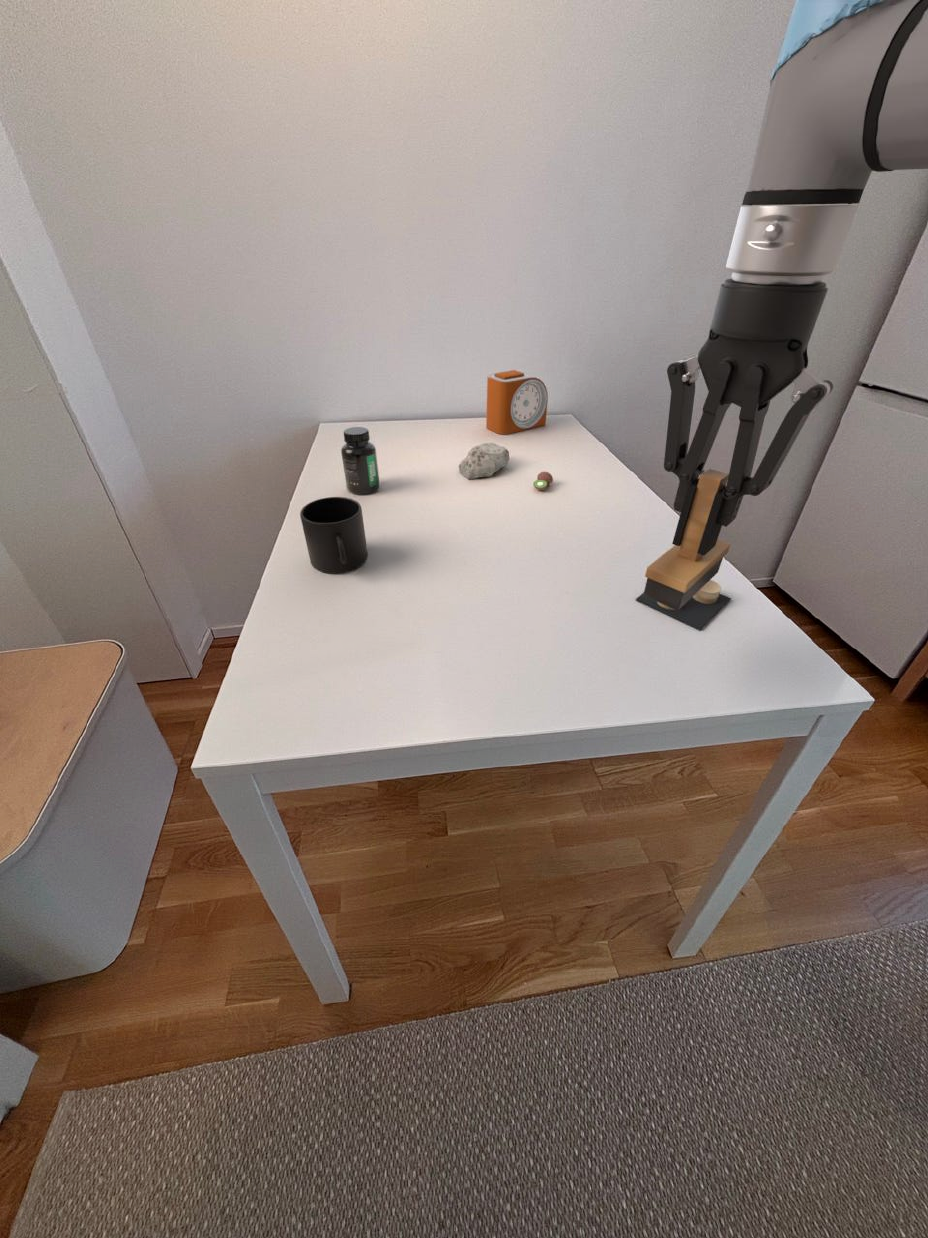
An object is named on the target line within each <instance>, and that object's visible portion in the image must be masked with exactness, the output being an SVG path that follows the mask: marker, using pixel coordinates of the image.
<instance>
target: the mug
mask: <svg viewBox="0 0 928 1238" xmlns="http://www.w3.org/2000/svg"><path fill="white" fill-rule="evenodd" d="M299 515H300V521H301V525H302V530H303V534H304V535H303V536H304V538H305V539H304V540H305V543H306V548H307V552H308V557H309V561H310V564H311V566H312V567H313V569H315V570H317V571H318V572H321V573H325V574H344V573H349V572H352V571H354V570H356V569H359V568H361V566H363V565H364V564H365V563H366V561H367V559H368V556H369V554H368V553H369V552H368V545H367V537H366V531H365V523H364V516H363V509H362V505H361V504H360V502H359V501H357V500H355V499H354V498H351V497H345V496H329V497H323V498H319V499H315V500H313V501H310V502H309V503H307V504H305V505H304V506H303V507H302V508H301V510H300V512H299Z"/></svg>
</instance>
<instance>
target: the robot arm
mask: <svg viewBox="0 0 928 1238" xmlns="http://www.w3.org/2000/svg"><path fill="white" fill-rule="evenodd" d="M790 16H791V17H790V19H789V22H788V26H787V29H786V33H785V36H784V39H783V43H782V46H781V49H780V53H779V56H778V59H777V63H776V64H775V66H774V67H773V70H772V73H771V75H770V80H769V83H770V84H769V91H768V95H767V100H766V104H765V109H764V114H763V117H762V123H761V126H760V131H759V136H758V141H757V145H756V149H755V153H754V158H753V163H752V167H751V171H750V175H749V179H748V184H747V188H746V191H745V194H744V195H743V199H742V203H741V205H742V206H740V209H739V213H738V217H737V221H736V224H735V228H734V233H733V236H732V242H731V244H730V248H729V253H728V256H727V259H726V260H727V261H726V264H725V268H726V270H727V271H728V272H730V273H731V278H727V279H725V280H724V282H723V283H721V284H720V287H719V290H718V295H717V299H716V302H715V306H714V310H713V314H712V318H711V322H710V325H709V333H708V337H707V338H706V341H705V342H704V344H703V345H702V346H701V347H700V349H699V351H698V353H697V355H694V356H692V357H690V358H683V359H681V360H677V361H675V362H672V363H670V364H669V365H668V367H667V368H666V374H667V378H668V383H669V387H670V388H669V389H670V401H669V410H668V411H669V412H668V420H667V431H666V438H665V439H666V440H665V449H664V450H665V451H664V460H663V468H664V470H665V471H666V472H667V473H673V474H674V475H675V476H676V477H677V478H678V480H679V481H678V487H677V491H676V494H675V498H674V501H673V511H676V512H679V513H680V514H679V517H678V521H677V525H676V528H675V531H674V536H673V539H672V542H671V544H672V545H673V546H674V545H676V546H680V545H681V541H682V538H683V534H684V531H685V528H686V524H687V521H688V517H689V514H690V510H691V507H692V503H693V500H694V496H695V493H696V489H697V486H698V482H699V479H700V475H701V474H702V473H704V472H705V471H706V469H704V467H705V465H706V463H707V461H708V458H709V455H710V453H711V450H712V448H713V446H714V443H715V441H716V438H717V435H718V433H719V431H720V428H721V426H722V424H723V421H724V418H725V416H726V413H727V411H728V409H729V408H730V406H731V405H732V404H734V405H736V406H738V407H740V410H739V415H738V420H739V424H738V428H737V434H736V439H735V444H734V448H733V453H732V457H731V462H730V466H729V472H728V474H729V476H728V480H727V483H726V486H725V487H724V488H723V489H722V490H720V491H719V492H718V493H716V494H715V497H714V501H713V504H712V507H711V510H710V513H709V517H708V520H707V523H706V526H705V529H704V533H703V536H702V539H701V542H700V545H699V548H698V552H697V553H698V554H701V555H706V554H707V553H708V552H709V551H710V550H711V549H712V548H713V547H715V545H716V542H717V540H719V536H720V533H721V530H722V528H723V527H725V528H726V527H728V526H729V525H731V523H733V522H734V521H735V520H736V518H737V516H738V514H739V510H740V507H741V505H742V501H743V499H744V496H749V495H750V496H751V497H757V496H759V495H761V494H762V493H763V492H764V491H765V490H767V489H768V488H769V487H770V486H771V485H772V483H773V482H774V479H775V477H776V476H777V474H778V472H779V470H780V468H781V466H782V465H783V464H784V461H785V460H786V458H787V456H788V454H789V452H790V451H791V449H792V447H793V445H794V444H795V441H796V440H797V438H798V436H799V435H800V433H801V431H802V429H803V427H804V426H805V424H806V422H807V420H808V419H809V416H810V415H811V413H812V411H813V410H814V409H815V408H816V407H817V406H818V405H819V404H820V403H821V402H822V401H824V400H825V399H826V398H827V397H828V396H829V395H830V394H831V393H832V392H833V390H834V384H833V382H832V381H830V380H828V379H824V380H821V379H820V378H819V377H818V376H816V375H815V374H814V373H813V372H812V371H811V370H809V369H808V366H809V356H808V346H809V342H810V340H811V337H812V334H813V331H814V330H815V326H816V323H817V320H818V318H819V315H820V312H821V310H822V307H823V304H824V302H825V299H826V296H827V294H828V293H827V292H828V290H829V288H828V287H827V283H826V282H823V279H824V276H826V275H830V274H832V273H833V272H834V271H836V270H837V267H838V264H839V260H840V259H841V256H842V255H841V254H842V252H843V250H844V247H845V244H846V241H847V238H848V236H849V232H850V230H851V228H852V227H851V226H852V224H853V221H854V218H855V216H856V213H857V210H858V208H859V207H858V206H859V205H857V204H860V202H861V199H862V196H863V194H864V191H865V188H866V186H867V183H868V181H869V179H870V176H871V174H872V172H877V173H878V172H879V173H882V172H884V173H885V172H893V171H903V170H905V171H909V170H928V0H795V2H794V6H793V9H792V12H791V15H790ZM700 371H701V375H702V377H703V380H704V382H705V386H706V389H707V391H708V393H707V395H706V398H705V400H704V403H703V407H702V414H701V416H700V419H699V422H698V424H697V427H696V430H695V433H694V435H693V438H692V441H691V444H690V446H689V443H690V434H691V428H692V420H693V411H694V403H695V394H696V382H697V380H698V379H699V377H700ZM792 383H794V390H793V391H792V393H791V396H790V400H791V402H792V403H793V405H792V406H791V407H790V409H789V410H787V413H786V414H785V416H784V418H783V420H782V422H781V423H780V425H779V427H778V429H777V431H776V433H775V435H774V436H773V439H772V441H771V442H770V444H769V447H768V448H767V450H766V452H765V453H764V456H763V458H762V459H761V462H760V464H759V465H758V467H757V469H756V471H755V473H754V475H753V476H752V472H753V468H754V465H755V464H754V463H755V462H756V461H755V460H756V455H757V452H758V448H759V444H760V439H761V434H762V431H763V427H764V422H765V418H766V416H767V413H768V411H769V408H770V404H771V400H773V399H774V398H775V397H776V396H778V395H779V394H780V393H782V392H783V391H784V390H785V389H786V388H787V387H789V386H790V385H792Z"/></svg>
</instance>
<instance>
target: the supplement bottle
mask: <svg viewBox="0 0 928 1238" xmlns="http://www.w3.org/2000/svg"><path fill="white" fill-rule="evenodd" d="M370 440H371V437H370V432H369V429H368V428H367V427H363V426H352V427H348V428H346V429H344V430H343V441H344V444H343V445H342V447H341V450H340V453H341V459H342V460H341V461H342V466H343V473H344V480H345V484H346V485H345V486H346V490H347V491H348V492H349V493H350V494H353V495H357V496H364V495H371V494H373V493H376V492H377V491H378V490H379V489H380V474H379V465H378V457H377V448H376V446H375V444H374V443H372V442H371V441H370Z"/></svg>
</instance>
